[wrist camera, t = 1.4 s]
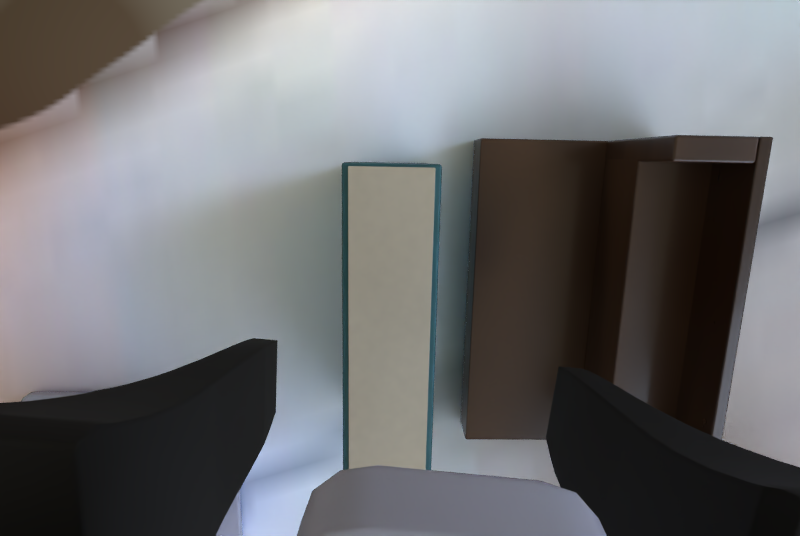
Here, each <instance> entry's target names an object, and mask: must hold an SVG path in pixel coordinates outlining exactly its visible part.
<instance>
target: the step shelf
mask: <svg viewBox="0 0 800 536" xmlns="http://www.w3.org/2000/svg"><path fill="white" fill-rule="evenodd" d="M772 140H773V138H772V137H745V136H698V135H672V136H661V137H650V138H638V139H626V140H615V141H580V140H532V139H484V138H482V139H478V140H475V141H474V155H473V176H472V197H471V217H470V238H469V259H468V279H467V300H466V320H465V341H464V362H463V382H462V403H461V424H462V428H463V431H464V435H465V438H466V439H536V440H546V434H547V429H548V423H549V417H550V412H551V406H552V401H553V395H554V389H555V384H556V378H557V373H558V367H570V368H581V369H585V370H588V371H590V372H592V373H594V374H596V375H598V376H600V377H602V378H604V379H605V380H607V381H609V382H611V383H612V384H614V385H616V386H618V387H619V388H621V389H623V390H624V391H626V392H628V393H630V394H631V395H633V396H635V397H636V398H638V399H640V400H642V401H643V402H645V403H647V404H649V405H651V406H652V407H654V408H656V409H658V410H660V411H662V412H664V413H665V414H667V415H669V416H671V417H673V418H675V419H677V420H679V421H681V422H683V423H685V424H687V425H689V426H691V427H693V428H695V429H698V430H700V431H702V432H704V433H707V434H709V435H711V436H714V437H716V438H718V439H721V440H722V435H723V429H724V424H725V418H726V412H727V406H728V400H729V394H730V388H731V382H732V376H733V370H734V364H735V359H736V353H737V347H738V341H739V335H740V329H741V323H742V317H743V311H744V305H745V299H746V293H747V288H748V282H749V276H750V270H751V264H752V258H753V252H754V246H755V240H756V234H757V228H758V222H759V217H760V211H761V205H762V199H763V193H764V187H765V181H766V175H767V169H768V163H769V157H770V152H771V146H772Z"/></svg>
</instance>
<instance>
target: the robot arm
mask: <svg viewBox="0 0 800 536" xmlns="http://www.w3.org/2000/svg"><path fill="white" fill-rule="evenodd" d="M276 375H277V340H266V339H255V338H253V339H249V340H246V341H243V342H241V343H238V344H236V345H233V346H231V347H229V348H226V349H224V350H222V351H219V352H217V353H215V354H212V355H210V356H208V357H205V358H203V359H201V360H198V361H196V362H193V363H190V364H188V365H185V366H182V367H180V368H177V369H175V370H172V371H169V372H167V373H164V374H161V375H158V376H154V377H151V378H148V379H144V380H141V381H137V382H134V383H130V384H126V385H122V386H118V387H113V388H108V389H103V390H98V391H93V392H31V393H30V394H28V395H27V396H25V397H24V398H23V399H22V401H21V402H11V403H0V536H217V535H221V536H242V535H243V533H242V514H241V496H240V488H241V486H242V484H243V482H244V481H245V479H246V477H247V475H248V473H249V472H250V470H251V468H252V466H253V464H254V462H255V460H256V458H257V457H258V455H259V453H260V451H261V449H262V447H263V445H264V443H265V440H266V438H267V435H268V432H269V430H270V427H271V424H272V421H273V418H274V415H275V413H276ZM546 440H547V444H548V449H549V453H550V457H551V461H552V464H553V468H554V472H555V474H556V477H557V479H558V482H559V484H560V487H558V486H555V485H552V484H549V483H546V482H543V481H539V480H528V479H517V478H507V477H496V476H486V475H475V474H465V473H454V472H444V471H433V470H422V469H412V468H401V467H391V466H380V465H376V466H369V467H362V468H354V469H347V470H340V471H339V472H338V473H336V474H335V475H333V476H332V477H331V478H329V479H328V480H327V481H325V482H324V483H323V484H321V485H320V486H318V487H317V488H316V489H314V490H313V491H312V494H311V496H310V499H309V502H308V504H307V507H306V510H305V512H304V515H303V518H302V521H301V524H300V527H299V530H298V534H297V536H800V468H799V467H796V466H793V465H790V464H787V463H783V462H780V461H777V460H774V459H771V458H769V457H766V456H763V455H760V454H757V453H754V452H752V451H749V450H746V449H743V448H741V447H738V446H735V445H733V444H730V443H728V442H725V441H723V440H721V439H718V438H716V437H714V436H711V435H709V434H707V433H704V432H702V431H700V430H698V429H695V428H693V427H691V426H689V425H687V424H685V423H683V422H681V421H679V420H677V419H675V418H673V417H671V416H669V415H667V414H665V413H664V412H662V411H660V410H658V409H656V408H654V407H652V406H651V405H649V404H647V403H645V402H643V401H642V400H640V399H638V398H636V397H635V396H633V395H631V394H630V393H628V392H626V391H624V390H623V389H621V388H619V387H618V386H616V385H614V384H612V383H611V382H609V381H607V380H605V379H604V378H602V377H600V376H598V375H596V374H594V373H592V372H590V371H588V370H585V369H581V368H570V367H558V373H557V378H556V384H555V389H554V395H553V401H552V406H551V412H550V417H549V423H548V429H547V434H546Z"/></svg>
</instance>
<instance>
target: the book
mask: <svg viewBox="0 0 800 536" xmlns="http://www.w3.org/2000/svg"><path fill="white" fill-rule="evenodd" d="M441 176H442V166H441V165H440V164H427V163H384V162H344V163H342V325H343V470H347V469H354V468H362V467H369V466H376V465H380V466H391V467H401V468H412V469H422V470H431V455H432V427H433V399H434V372H435V344H436V316H437V288H438V260H439V232H440V204H441Z"/></svg>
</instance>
